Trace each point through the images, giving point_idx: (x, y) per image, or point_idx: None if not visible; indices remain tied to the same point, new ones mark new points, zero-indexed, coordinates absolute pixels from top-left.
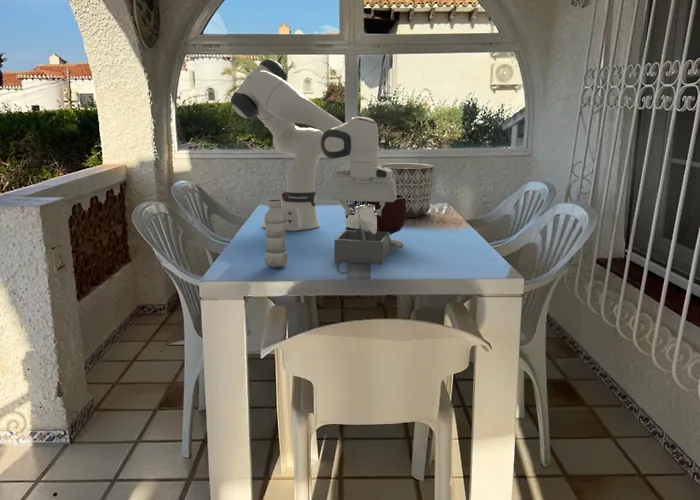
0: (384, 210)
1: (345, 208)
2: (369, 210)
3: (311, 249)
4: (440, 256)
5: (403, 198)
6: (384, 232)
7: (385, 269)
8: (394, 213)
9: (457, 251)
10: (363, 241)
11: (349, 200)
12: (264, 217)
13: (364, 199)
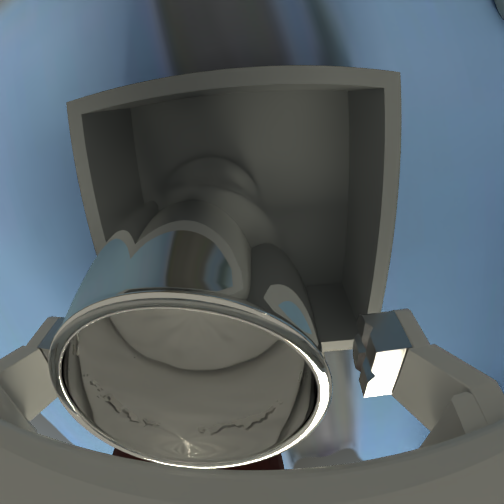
0: None
1: (442, 352)
2: (77, 299)
3: (464, 272)
4: (14, 278)
5: None
6: None
7: (100, 32)
8: (124, 456)
9: (15, 335)
10: (187, 74)
11: (441, 445)
12: None
13: (120, 483)
